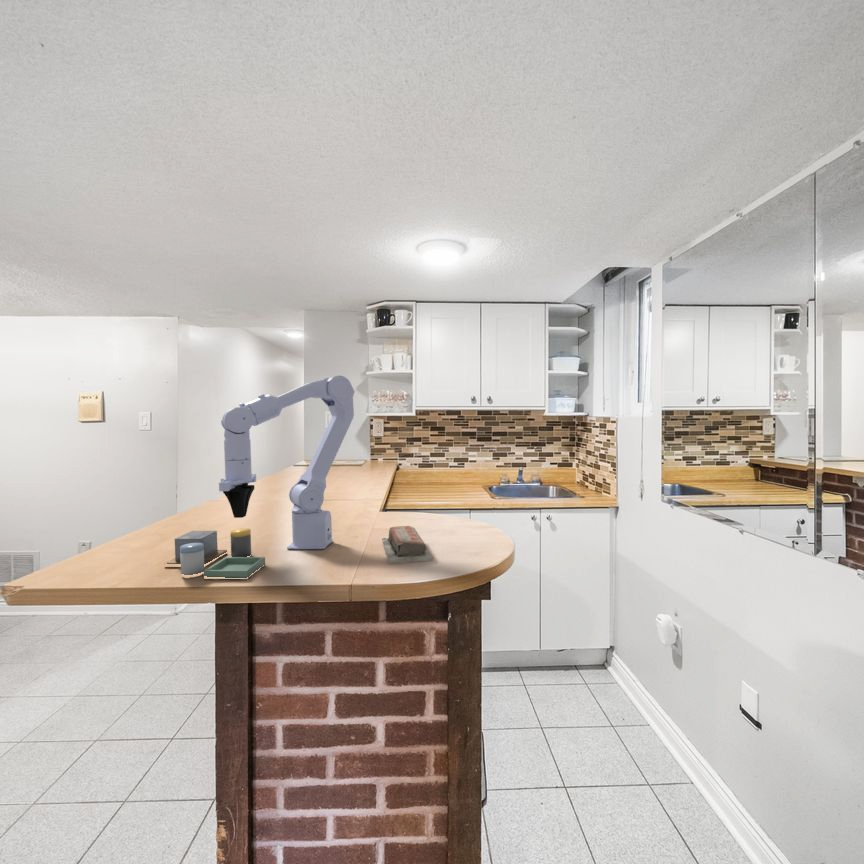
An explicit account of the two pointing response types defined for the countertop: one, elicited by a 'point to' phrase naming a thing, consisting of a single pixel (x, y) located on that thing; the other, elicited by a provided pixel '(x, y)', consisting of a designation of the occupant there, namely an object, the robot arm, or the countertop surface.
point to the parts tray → (235, 567)
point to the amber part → (240, 542)
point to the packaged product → (405, 546)
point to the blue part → (192, 558)
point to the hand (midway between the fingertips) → (240, 516)
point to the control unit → (198, 537)
